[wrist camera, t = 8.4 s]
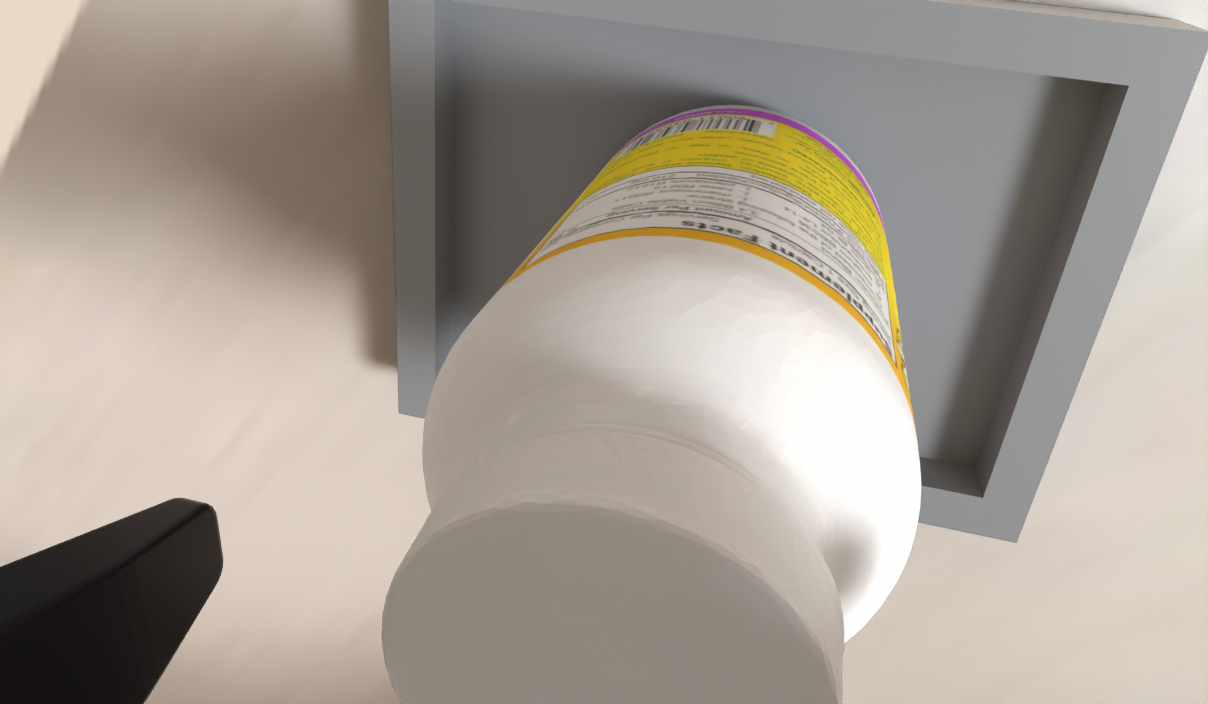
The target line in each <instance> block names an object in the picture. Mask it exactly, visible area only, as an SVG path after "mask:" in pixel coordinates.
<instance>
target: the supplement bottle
mask: <svg viewBox="0 0 1208 704" xmlns="http://www.w3.org/2000/svg"><path fill="white" fill-rule="evenodd" d="M422 452H423V471H424V479H425V485H426V492H427V497H428V501H429V505H430V508H431V513H430V515H429V516H428V518H427V520H426V522H425V524H424V525H423V527H422V529H421V531H420V532H419V534H418V536H417V537H416V539H415V541H414V542H413V544H412V546H411V547H410V549H409V551H408V552H407V554H406V556H405V557H404V559H403V561H402V562H401V564H400V566H399V568H398V569H397V571H396V573H395V575H394V577H393V580H392V583H391V585H390V588H389V591H388V593H387V596H386V601H385V606H384V611H383V617H382V646H383V651H384V658H385V664H386V667H387V671H388V674H389V677H390V680H391V683H392V686H393V688H394V690H395V692H396V694H397V696H398V698H399V700H400V702H401V704H842V657H843V651H844V643H845V642H846V641H847V640H849V639H850V638H851V637H852V636H853V635H854V634H856V633H857V632H858V631H859V630H860V629H861V628H863V627H864V626H865V624H866V623H867V622H868V621H869V620H870V619H871V617H872V616H873V615H874V614H875V613H876V612H877V610H878V609H879V608H880V607H881V605H882V604H883V602H884V601H885V599H886V598H887V596H888V595H889V593H890V592H891V590H892V589H893V587H894V586H895V584H896V582H897V580H898V578H899V576H900V574H901V572H902V570H903V568H904V566H905V564H906V561H907V559H908V557H909V554H910V551H911V547H912V544H913V541H914V536H915V532H916V528H917V524H918V518H919V511H920V500H921V472H920V460H919V453H918V442H917V436H916V429H915V423H914V417H913V411H912V405H911V399H910V393H909V384H908V379H907V372H906V366H905V359H904V353H903V347H902V340H901V332H900V325H899V319H898V310H897V305H896V295H895V290H894V284H893V276H892V270H891V264H890V257H889V250H888V245H887V239H886V234H885V229H884V224H883V220H882V216H881V213H880V209H879V207H878V204H877V201H876V199H875V196H874V194H873V192H872V190H871V188H870V186H869V184H868V183H867V181H866V179H865V177H864V176H863V174H862V173H861V172H860V170H859V169H858V167H857V166H856V165H855V164H854V163H853V161H852V160H851V159H850V158H849V157H848V155H847V154H846V153H845V152H844V151H843V150H842V149H841V148H840V147H838V146H837V145H836V144H835V143H834V142H833V141H831V140H830V139H829V138H827V137H826V136H825V135H823V134H822V133H820V132H818V131H817V130H815V129H814V128H812V127H810V126H809V125H807V124H805V123H803V122H801V121H799V120H797V119H795V118H793V117H790V116H788V115H785V114H782V113H779V112H776V111H772V110H768V109H763V108H759V107H753V106H743V105H717V106H709V107H703V108H698V109H693V110H689V111H685V112H682V113H679V114H677V115H674V116H671V117H669V118H666V119H664V120H662V121H660V122H658V123H656V124H654V125H652V126H651V127H649V128H647V129H646V130H644V131H643V132H641V133H639V134H638V135H637V136H635V137H634V138H633V139H632V140H630V141H629V142H628V143H627V144H626V145H625V146H624V147H623V148H622V149H621V150H620V151H619V152H618V153H617V154H616V155H615V156H614V157H613V158H612V159H611V160H610V161H609V162H608V163H607V165H606V166H605V167H604V168H603V169H602V170H601V172H600V173H599V174H598V175H597V176H596V178H595V179H594V180H593V181H592V182H591V183H590V184H589V186H588V187H587V188H586V189H585V190H584V191H583V193H582V194H581V195H580V196H579V198H578V199H577V200H576V201H575V202H574V204H573V205H572V206H571V207H570V208H569V209H568V211H567V212H566V213H565V214H564V215H563V216H562V217H561V219H560V220H559V221H558V222H557V223H556V224H555V225H554V227H553V228H552V229H551V230H550V231H549V232H548V234H547V235H546V236H545V237H544V238H543V239H542V241H541V242H540V243H539V244H538V245H537V246H536V248H535V249H534V250H533V251H532V252H531V254H530V255H529V256H528V257H527V258H526V259H525V261H524V262H523V263H522V264H521V265H520V266H519V268H518V269H517V270H516V271H515V272H514V273H513V275H512V276H511V277H510V278H509V279H508V280H507V282H506V283H505V284H504V285H503V286H502V287H501V288H500V289H499V291H498V292H497V293H496V294H495V295H494V296H493V297H492V298H491V300H490V301H489V302H488V303H487V304H486V305H485V306H484V307H483V308H482V310H481V311H480V312H479V313H478V314H477V316H476V317H475V318H474V319H473V320H472V322H471V323H470V324H469V325H468V326H467V328H466V329H465V330H464V331H463V332H462V334H461V335H460V337H459V338H458V340H457V341H456V343H455V344H454V345H453V347H452V348H451V350H450V352H449V354H448V356H447V358H446V360H445V362H444V364H443V366H442V367H441V369H440V372H439V374H438V376H437V379H436V381H435V384H434V387H433V390H432V393H431V396H430V399H429V404H428V408H427V413H426V418H425V422H424V432H423V446H422Z"/></svg>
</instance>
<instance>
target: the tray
mask: <svg viewBox="0 0 1208 704" xmlns="http://www.w3.org/2000/svg"><path fill="white" fill-rule="evenodd" d="M388 12H389V51H390V90H391V130H392V169H393V208H394V248H395V287H396V326H397V366H398V405H399V413H400V414H405V415H410V416H414V417H419V418H424V419H425V418H426V413H427V408H428V404H429V399H430V396H431V393H432V390H433V387H434V384H435V381H436V379H437V376H438V374H439V372H440V369H441V367H442V366H443V364H444V362H445V360H446V358H447V356H448V354H449V352H450V350H451V348H452V347H453V345H454V344H455V343H456V341H457V340H458V338H459V337H460V335H461V334H462V332H463V331H464V330H465V329H466V328H467V326H468V325H469V324H470V323H471V322H472V320H473V319H474V318H475V317H476V316H477V314H478V313H479V312H480V311H481V310H482V308H483V307H484V306H485V305H486V304H487V303H488V302H489V301H490V300H491V298H492V297H493V296H494V295H495V294H496V293H497V292H498V291H499V289H500V288H501V287H502V286H503V285H504V284H505V283H506V282H507V280H508V279H509V278H510V277H511V276H512V275H513V273H514V272H515V271H516V270H517V269H518V268H519V266H520V265H521V264H522V263H523V262H524V261H525V259H526V258H527V257H528V256H529V255H530V254H531V252H532V251H533V250H534V249H535V248H536V246H537V245H538V244H539V243H540V242H541V241H542V239H543V238H544V237H545V236H546V235H547V234H548V232H549V231H550V230H551V229H552V228H553V227H554V225H555V224H556V223H557V222H558V221H559V220H560V219H561V217H562V216H563V215H564V214H565V213H566V212H567V211H568V209H569V208H570V207H571V206H572V205H573V204H574V202H575V201H576V200H577V199H578V198H579V196H580V195H581V194H582V193H583V191H584V190H585V189H586V188H587V187H588V186H589V184H590V183H591V182H592V181H593V180H594V179H595V178H596V176H597V175H598V174H599V173H600V172H601V170H602V169H603V168H604V167H605V166H606V165H607V163H608V162H609V161H610V160H611V159H612V158H613V157H614V156H615V155H616V154H617V153H618V152H619V151H620V150H621V149H622V148H623V147H624V146H625V145H626V144H627V143H628V142H629V141H630V140H632V139H633V138H634V137H635V136H637V135H638V134H639V133H641V132H643V131H644V130H646V129H647V128H649V127H651V126H652V125H654V124H656V123H658V122H660V121H662V120H664V119H666V118H669V117H671V116H674V115H677V114H679V113H682V112H685V111H689V110H693V109H698V108H703V107H709V106H717V105H743V106H753V107H759V108H763V109H768V110H772V111H776V112H779V113H782V114H785V115H788V116H790V117H793V118H795V119H797V120H799V121H801V122H803V123H805V124H807V125H809V126H810V127H812V128H814V129H815V130H817V131H818V132H820V133H822V134H823V135H825V136H826V137H827V138H829V139H830V140H831V141H833V142H834V143H835V144H836V145H837V146H838V147H840V148H841V149H842V150H843V151H844V152H845V153H846V154H847V155H848V157H849V158H850V159H851V160H852V161H853V163H854V164H855V165H856V166H857V167H858V169H859V170H860V172H861V173H862V174H863V176H864V177H865V179H866V181H867V183H868V184H869V186H870V188H871V190H872V192H873V194H874V196H875V199H876V201H877V204H878V207H879V209H880V213H881V216H882V220H883V224H884V229H885V234H886V239H887V245H888V250H889V257H890V264H891V270H892V276H893V284H894V290H895V295H896V305H897V310H898V319H899V325H900V332H901V340H902V347H903V353H904V359H905V366H906V372H907V379H908V384H909V393H910V399H911V405H912V411H913V417H914V423H915V429H916V436H917V442H918V453H919V460H920V472H921V500H920V511H919V518H918V522H919V523H924V524H929V525H933V526H938V527H943V528H948V529H952V530H957V531H962V532H967V533H971V534H976V535H981V536H986V537H990V538H995V539H1000V540H1005V541H1010V542H1014V543H1017V540H1018V538H1019V535H1020V533H1021V530H1022V527H1023V525H1024V522H1025V520H1026V517H1027V514H1028V512H1029V509H1030V507H1031V504H1032V502H1033V499H1034V496H1035V494H1036V491H1037V489H1038V486H1039V483H1040V481H1041V478H1042V476H1043V473H1044V471H1045V468H1046V465H1047V463H1048V460H1049V458H1050V455H1051V452H1052V450H1053V447H1054V445H1055V442H1056V440H1057V437H1058V434H1059V432H1060V429H1061V427H1062V424H1063V422H1064V419H1065V416H1066V414H1067V411H1068V409H1069V406H1070V403H1071V401H1072V398H1073V396H1074V393H1075V391H1076V388H1077V385H1078V383H1079V380H1080V378H1081V375H1082V372H1083V370H1084V367H1085V365H1086V362H1087V360H1088V357H1089V354H1090V352H1091V349H1092V347H1093V344H1094V341H1095V339H1096V336H1097V334H1098V331H1099V329H1100V326H1101V323H1102V321H1103V318H1104V316H1105V313H1106V311H1107V308H1108V305H1109V303H1110V300H1111V298H1112V295H1113V292H1114V290H1115V287H1116V285H1117V282H1118V280H1119V277H1120V274H1121V272H1122V269H1123V267H1124V264H1125V261H1126V259H1127V256H1128V254H1129V251H1130V249H1131V246H1132V243H1133V241H1134V238H1135V236H1136V233H1137V230H1138V228H1139V225H1140V223H1141V220H1142V218H1143V215H1144V212H1145V210H1146V207H1147V205H1148V202H1149V200H1150V197H1151V194H1152V192H1153V189H1154V187H1155V184H1156V181H1157V179H1158V176H1159V174H1160V171H1161V169H1162V166H1163V163H1164V161H1165V158H1166V156H1167V153H1168V150H1169V148H1170V145H1171V143H1172V140H1173V138H1174V135H1175V132H1176V130H1177V127H1178V125H1179V122H1180V119H1181V117H1182V114H1183V112H1184V109H1185V107H1186V104H1187V101H1188V99H1189V96H1190V94H1191V91H1192V88H1193V86H1194V83H1195V81H1196V78H1197V76H1198V73H1199V70H1200V68H1201V65H1202V63H1203V60H1204V58H1205V55H1206V52H1207V50H1208V31H1207V30H1204V29H1201V28H1198V27H1195V26H1193V25H1190V24H1187V23H1184V22H1181V21H1179V20H1176V19H1168V18H1159V17H1150V16H1141V15H1132V14H1123V13H1114V12H1106V11H1097V10H1088V9H1079V8H1070V7H1061V6H1052V5H1044V4H1035V3H1026V2H1017V1H1008V0H388Z"/></svg>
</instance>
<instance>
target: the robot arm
mask: <svg viewBox="0 0 1208 704" xmlns="http://www.w3.org/2000/svg"><path fill="white" fill-rule="evenodd" d="M222 569H223V554H222V547H221V540H220V533H219V527H218V520H217V515H216V511H215V510H214V508H213V507H212V506H211V505H209V504H207V503H203V502H198V501H194V500H190V499H186V498H174V499H171V500H168V501H166V502H163V503H161V504H158V505H156V506H153V507H151V508H148V509H146V510H143V511H140V512H138V513H135V514H133V515H130V516H128V517H125V518H123V519H120V520H118V521H115V522H113V523H110V524H108V525H105V526H103V527H100V528H98V529H95V530H92V531H90V532H87V533H85V534H82V535H80V536H77V537H75V538H72V539H70V540H67V541H65V542H62V543H60V544H57V545H55V546H52V547H50V548H47V549H44V550H42V551H39V552H37V553H34V554H32V555H29V556H27V557H24V558H22V559H19V560H17V561H14V562H12V563H9V564H7V565H4V566H1V567H0V704H144V702H145V701H146V699H147V698H148V696H149V695H150V693H151V692H152V690H153V689H154V687H155V685H156V684H157V682H158V681H159V679H160V677H161V676H162V674H163V672H164V671H165V669H166V668H167V666H168V664H169V663H170V661H171V659H172V658H173V656H174V654H175V653H176V651H177V649H178V648H179V646H180V644H181V643H182V641H183V639H184V638H185V636H186V634H187V633H188V631H189V629H190V628H191V626H192V624H193V623H194V621H195V619H196V618H197V616H198V614H199V613H200V611H201V609H202V608H203V606H204V604H205V603H206V601H207V599H208V598H209V596H210V594H211V593H212V591H213V589H214V588H215V586H216V584H217V582H218V580H219V578H220V576H221V573H222Z"/></svg>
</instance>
